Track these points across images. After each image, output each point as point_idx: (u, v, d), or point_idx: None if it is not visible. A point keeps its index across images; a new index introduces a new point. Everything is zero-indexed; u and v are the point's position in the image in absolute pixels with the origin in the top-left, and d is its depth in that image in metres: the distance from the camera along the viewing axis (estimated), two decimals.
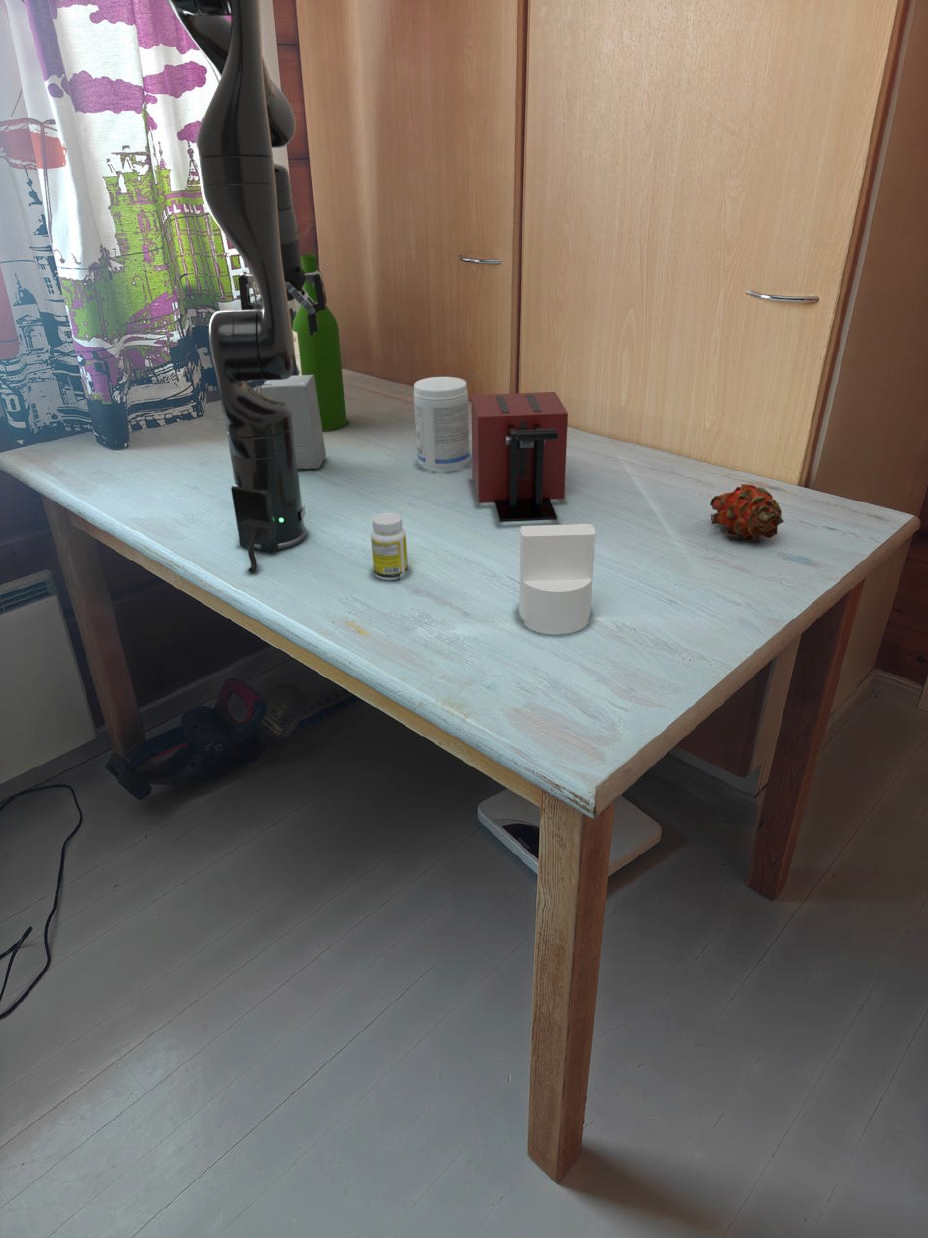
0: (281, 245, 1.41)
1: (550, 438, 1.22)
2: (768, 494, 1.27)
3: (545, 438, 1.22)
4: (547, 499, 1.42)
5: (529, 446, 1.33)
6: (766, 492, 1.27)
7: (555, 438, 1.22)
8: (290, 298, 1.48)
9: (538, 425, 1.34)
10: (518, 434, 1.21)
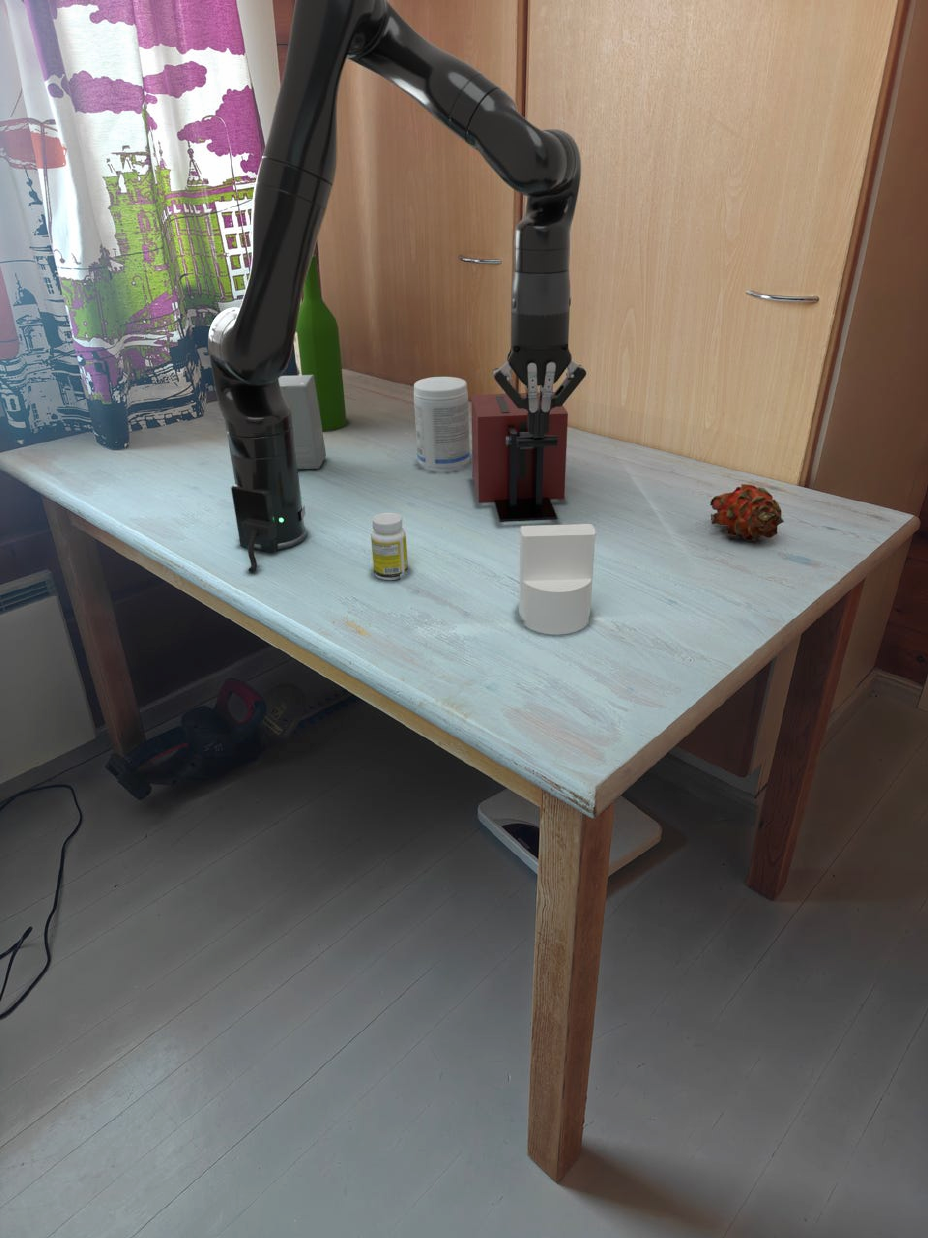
0: None
1: (550, 445, 1.22)
2: (768, 494, 1.27)
3: (545, 445, 1.22)
4: (547, 499, 1.42)
5: (529, 447, 1.33)
6: (766, 492, 1.27)
7: (555, 445, 1.22)
8: None
9: None
10: (518, 441, 1.21)
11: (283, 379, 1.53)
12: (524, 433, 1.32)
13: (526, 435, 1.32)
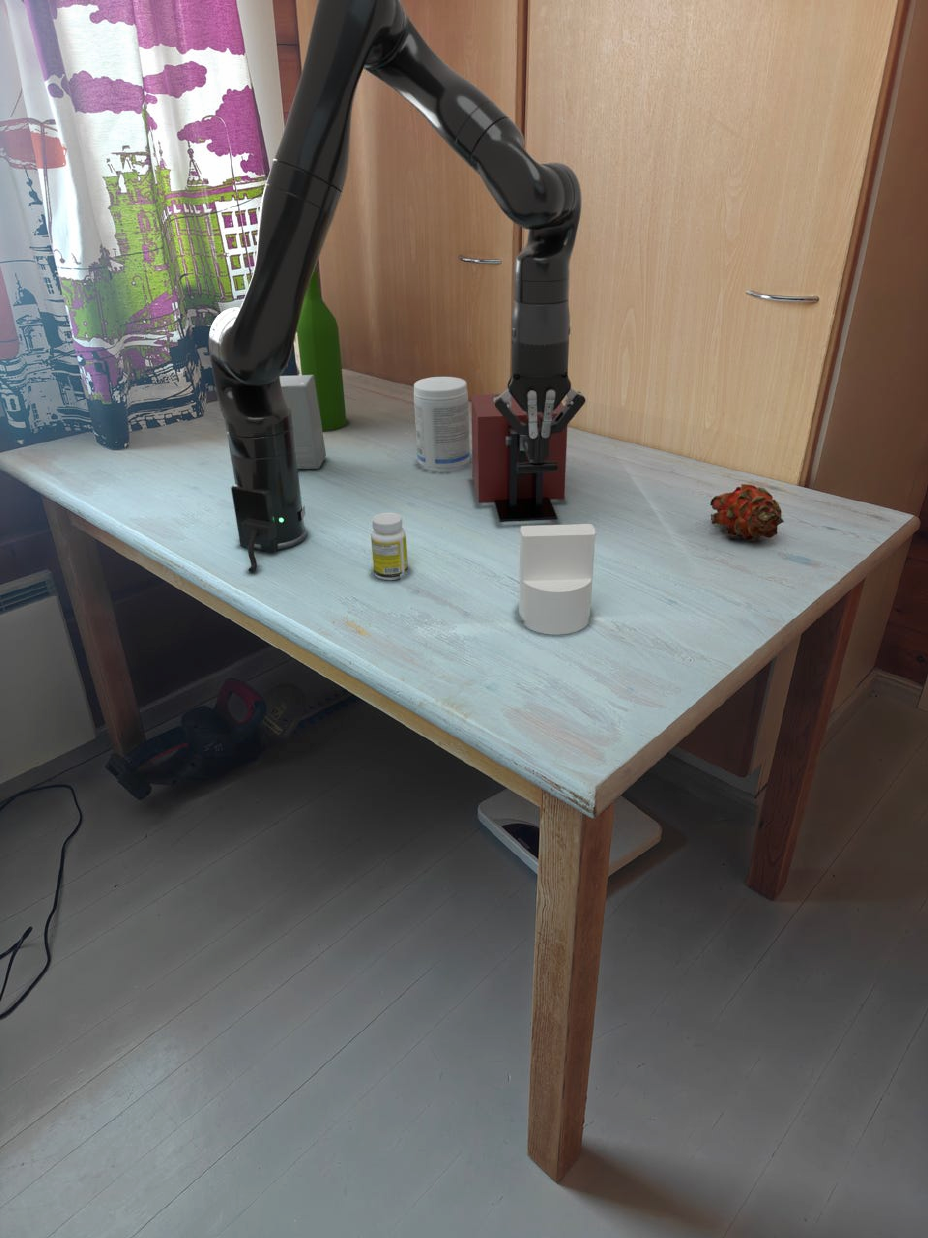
0: None
1: (550, 471, 1.24)
2: (768, 494, 1.27)
3: (545, 471, 1.23)
4: (547, 499, 1.42)
5: None
6: (766, 492, 1.27)
7: (555, 471, 1.24)
8: None
9: (538, 425, 1.34)
10: (518, 468, 1.23)
11: (283, 379, 1.53)
12: (524, 436, 1.32)
13: (526, 438, 1.32)
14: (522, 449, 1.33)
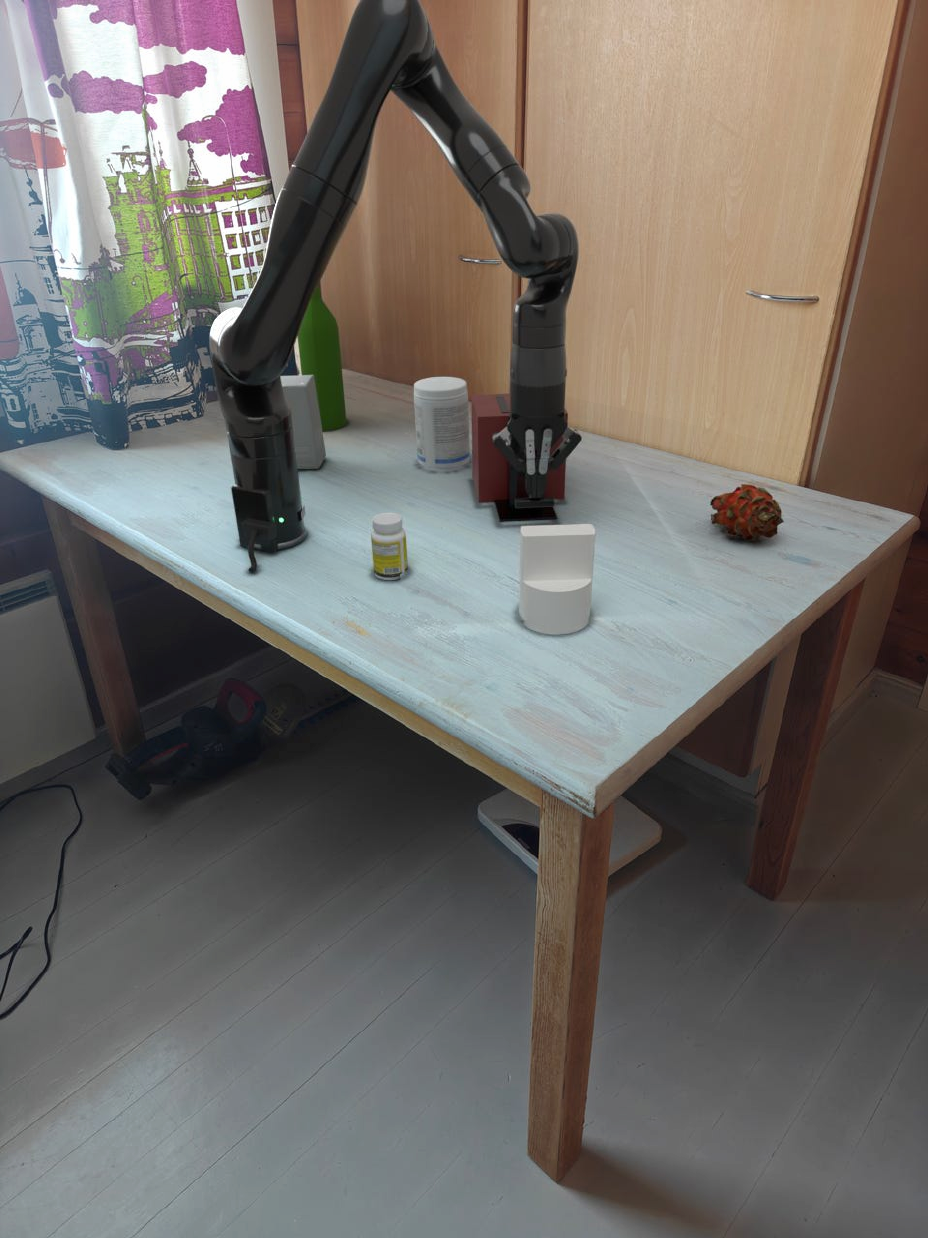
0: None
1: None
2: (768, 494, 1.27)
3: (542, 506, 1.28)
4: None
5: None
6: (766, 492, 1.27)
7: None
8: None
9: None
10: (516, 506, 1.27)
11: (283, 379, 1.53)
12: None
13: None
14: (521, 451, 1.34)
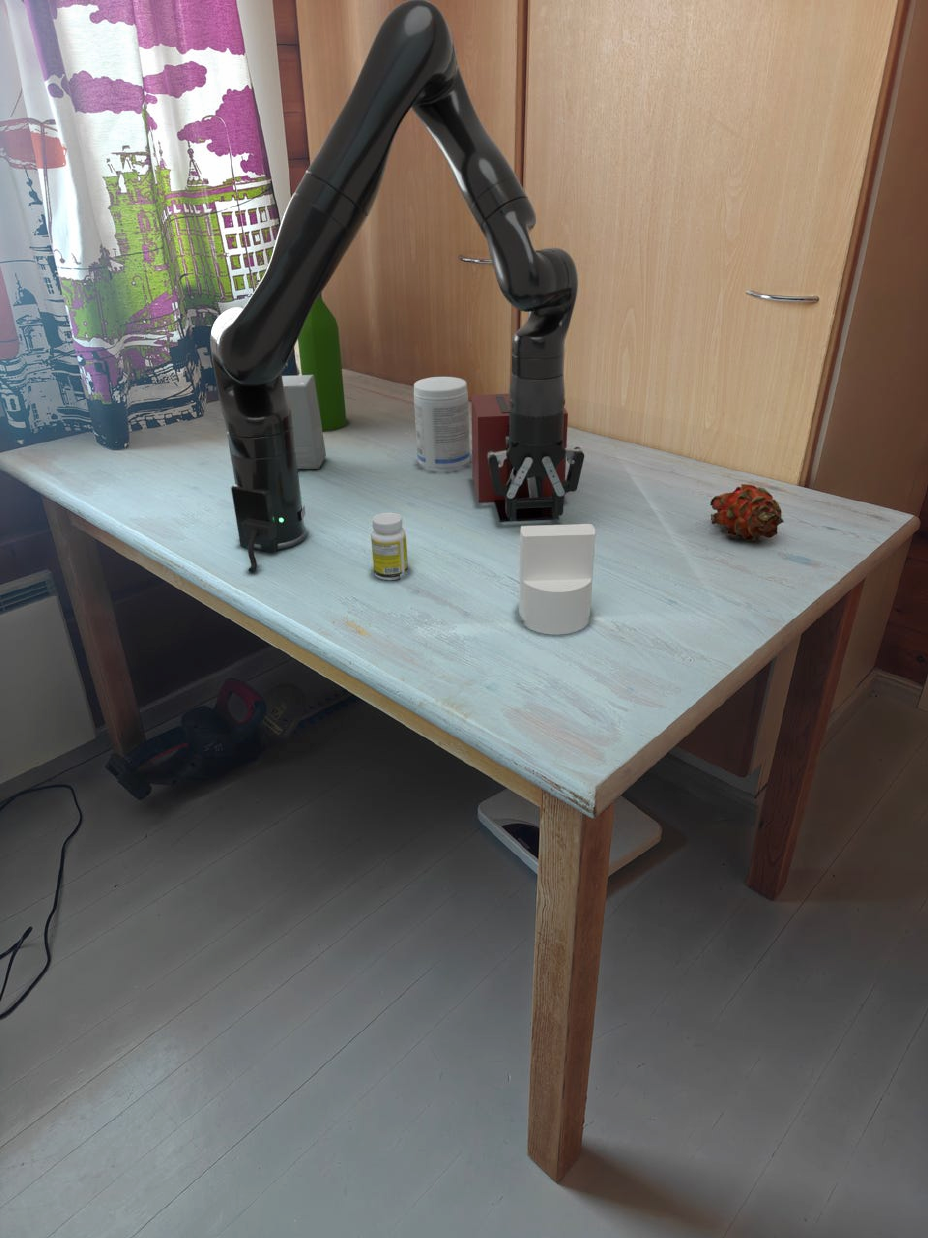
0: None
1: (546, 506, 1.28)
2: (768, 494, 1.27)
3: (542, 506, 1.28)
4: None
5: None
6: (766, 492, 1.27)
7: None
8: None
9: None
10: (516, 506, 1.27)
11: (283, 379, 1.53)
12: None
13: None
14: None
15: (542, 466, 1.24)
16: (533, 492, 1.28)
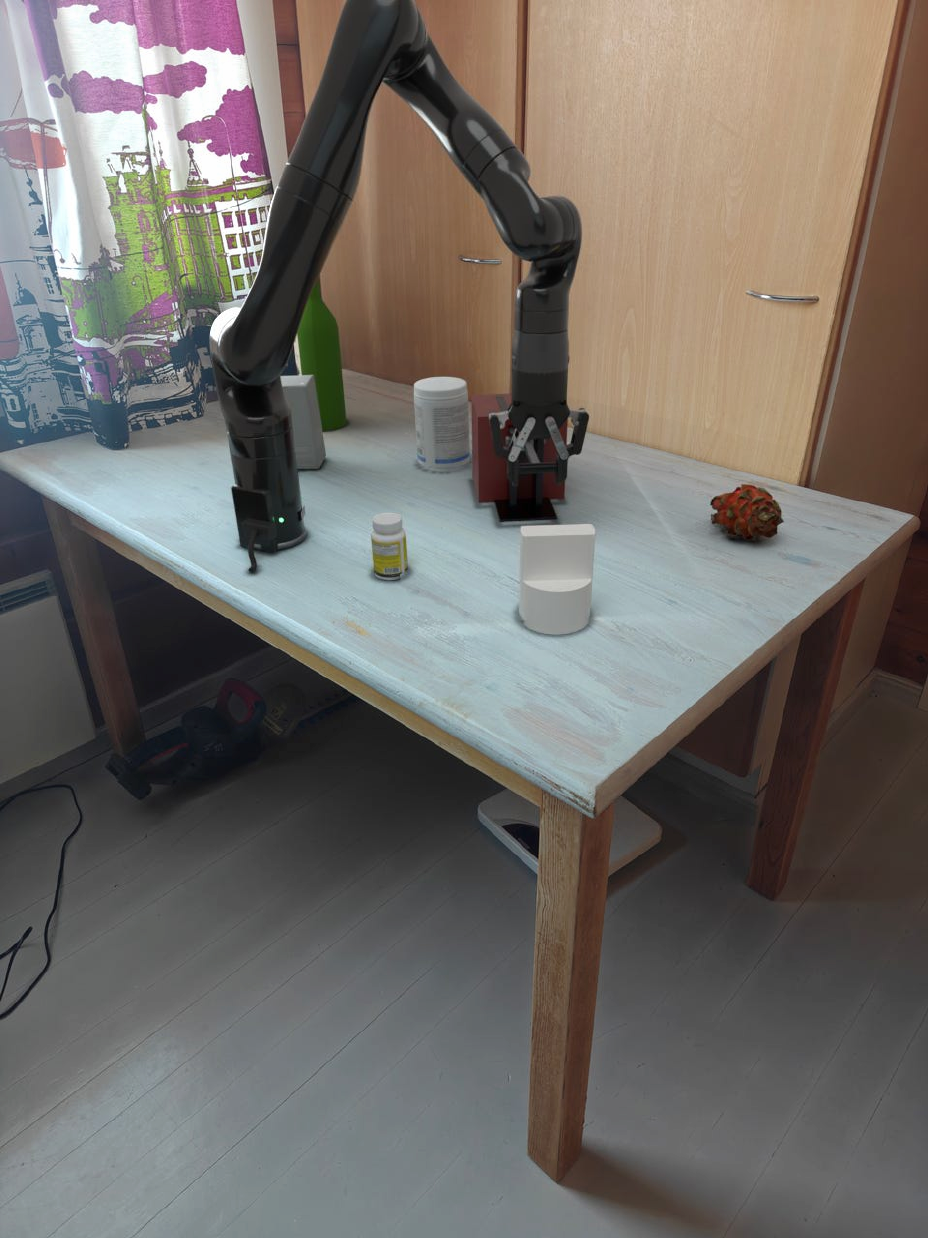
0: None
1: (550, 472, 1.24)
2: (768, 494, 1.27)
3: (545, 472, 1.24)
4: (547, 499, 1.42)
5: None
6: (766, 492, 1.27)
7: (555, 471, 1.24)
8: None
9: None
10: (518, 469, 1.23)
11: (283, 379, 1.53)
12: None
13: None
14: (522, 449, 1.33)
15: (545, 427, 1.20)
16: (535, 461, 1.25)
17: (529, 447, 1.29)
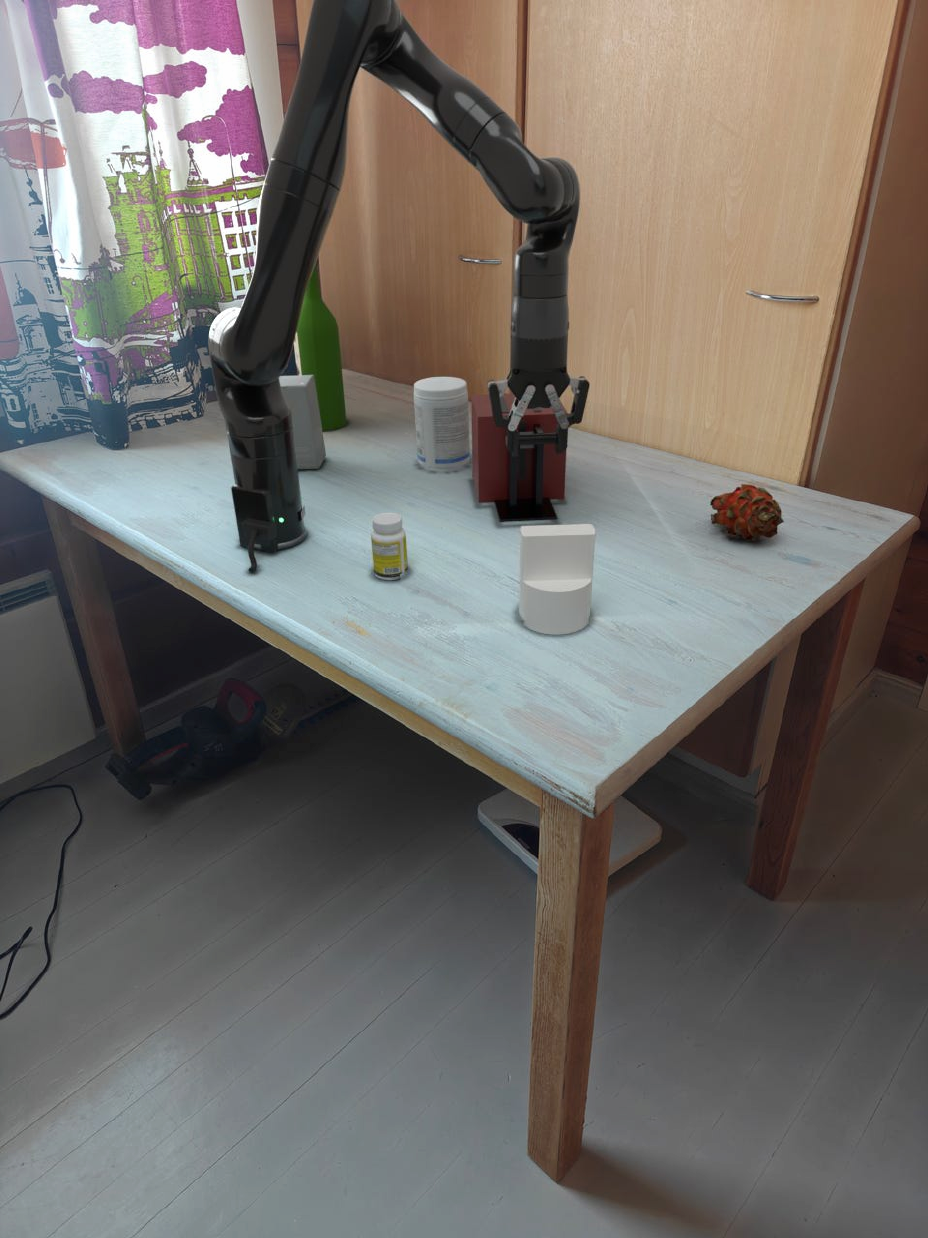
0: None
1: (550, 442, 1.22)
2: (768, 494, 1.27)
3: (545, 442, 1.22)
4: (547, 499, 1.42)
5: (529, 446, 1.33)
6: (766, 492, 1.27)
7: (555, 442, 1.22)
8: None
9: (538, 425, 1.34)
10: (518, 438, 1.21)
11: (283, 379, 1.53)
12: (524, 433, 1.32)
13: None
14: (522, 446, 1.33)
15: (545, 396, 1.18)
16: None
17: None
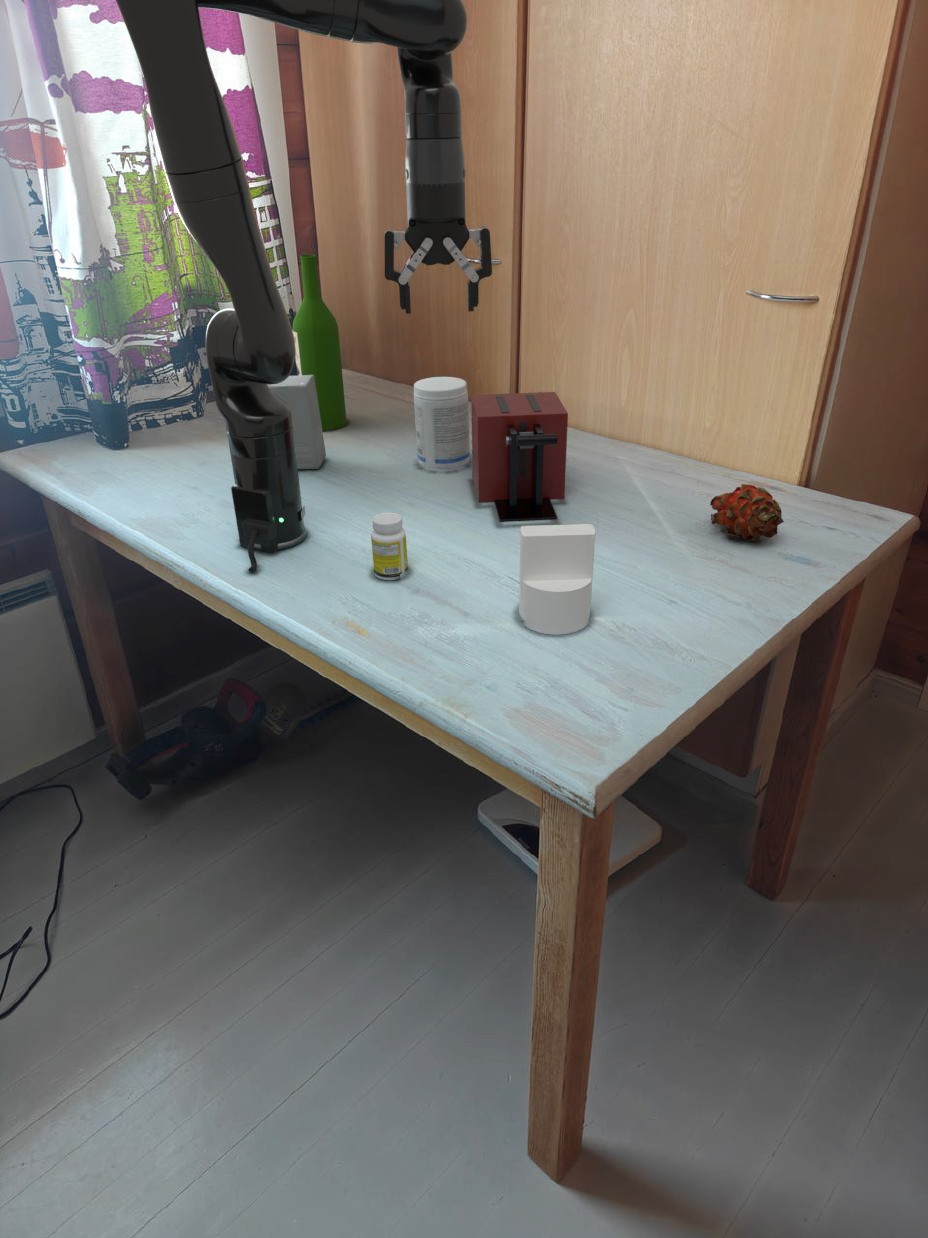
0: None
1: (550, 443, 1.22)
2: (768, 494, 1.27)
3: (545, 443, 1.22)
4: (547, 499, 1.42)
5: (529, 447, 1.33)
6: (766, 492, 1.27)
7: (555, 443, 1.22)
8: None
9: (538, 425, 1.34)
10: (518, 439, 1.21)
11: None
12: (524, 433, 1.32)
13: (526, 435, 1.32)
14: (522, 446, 1.33)
15: (444, 251, 1.15)
16: None
17: None
